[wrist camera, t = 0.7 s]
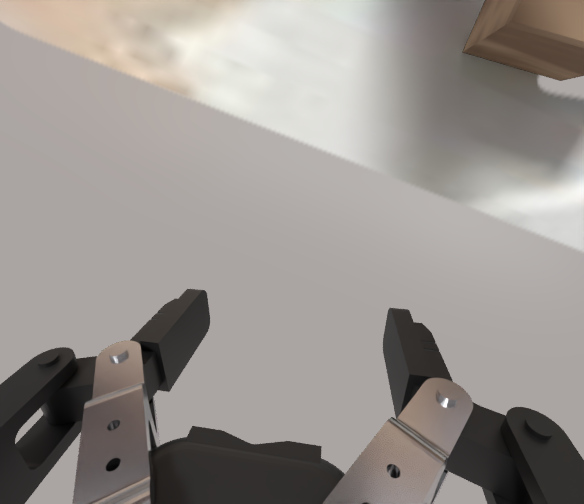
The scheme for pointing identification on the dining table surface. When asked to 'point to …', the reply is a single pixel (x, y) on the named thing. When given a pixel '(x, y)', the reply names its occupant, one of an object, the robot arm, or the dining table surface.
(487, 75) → the dining table surface
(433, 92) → the dining table surface
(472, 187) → the dining table surface
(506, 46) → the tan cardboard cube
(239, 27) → the dining table surface
